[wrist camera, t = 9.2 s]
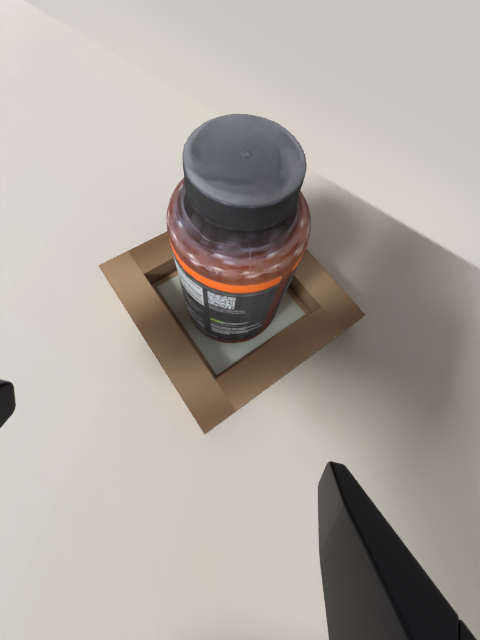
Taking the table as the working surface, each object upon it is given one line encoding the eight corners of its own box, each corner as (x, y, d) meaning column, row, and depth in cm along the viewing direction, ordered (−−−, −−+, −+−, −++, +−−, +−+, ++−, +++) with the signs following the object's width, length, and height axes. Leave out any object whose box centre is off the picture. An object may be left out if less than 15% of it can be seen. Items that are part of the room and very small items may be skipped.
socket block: (351, 325, 20) (365, 314, 18) (205, 433, 17) (204, 433, 15) (249, 208, 23) (252, 188, 22) (109, 281, 20) (98, 265, 18)
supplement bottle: (258, 257, 21) (301, 83, 11) (287, 332, 19) (374, 209, 9) (176, 275, 20) (134, 102, 10) (198, 357, 18) (175, 250, 8)
